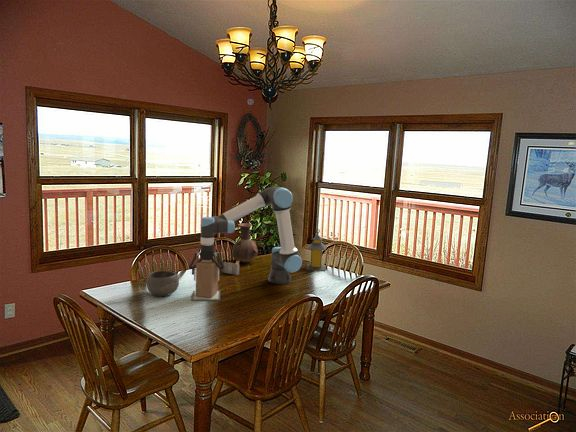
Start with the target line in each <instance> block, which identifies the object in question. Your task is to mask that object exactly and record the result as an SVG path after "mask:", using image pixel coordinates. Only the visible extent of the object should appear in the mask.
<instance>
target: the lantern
mask: <svg viewBox="0 0 576 432" xmlns="http://www.w3.org/2000/svg"><path fill="white" fill-rule="evenodd" d="M315 232H316V235H315V236H314V237H313V238H312V241H313V242H312V243H310V244H309V245H308V246H307V250H310V264H309V263H308V264H307V265H306V267H305V270H306V271H313V272H315V271H316V272H326V267H327V266H326V265H323V251H327V246H326V245H325V244H324V243H323V242H322V241H323V238H322V237H321V236H320V235H319V233H320V232H321V230H320V229H318V228H316V230H315Z"/></svg>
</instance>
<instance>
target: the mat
mask: <svg viewBox="0 0 576 432" xmlns="http://www.w3.org/2000/svg"><path fill="white" fill-rule="evenodd" d="M190 300H191V302H208V301H209V302H221V290H217V293H216V294H215V295H214V296H213V297H212V298H207V297H198V296H196V290H193V291H192V296H191V299H190Z"/></svg>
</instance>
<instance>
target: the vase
mask: <svg viewBox="0 0 576 432" xmlns="http://www.w3.org/2000/svg"><path fill="white" fill-rule="evenodd" d="M237 226H238V227H239V228H240V238H239V239H238V240H237V241H236V242H235V243H234V245H232V247H231V248H232V249H231V251H232V252H231V256H232V258H233V259H235V260H236V261H239V262H241V263H244V264H245V263H247V262H250V261H253V259H255V258H257V256H258V255H259V251H258V247H257V246H258V245H257V244H256V242H255V241H253V240H252V239H251V236H250V231H251V230H250V229H251V227H253V224H252V223H249V222H246V223H245V222H244V223H243V222H241V223H238V224H237Z"/></svg>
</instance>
